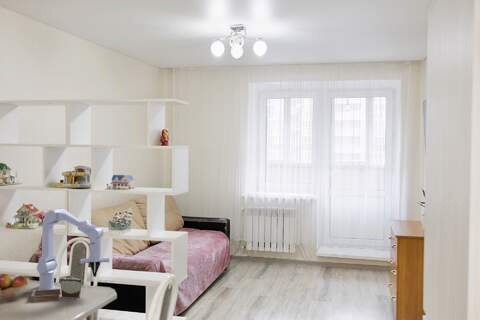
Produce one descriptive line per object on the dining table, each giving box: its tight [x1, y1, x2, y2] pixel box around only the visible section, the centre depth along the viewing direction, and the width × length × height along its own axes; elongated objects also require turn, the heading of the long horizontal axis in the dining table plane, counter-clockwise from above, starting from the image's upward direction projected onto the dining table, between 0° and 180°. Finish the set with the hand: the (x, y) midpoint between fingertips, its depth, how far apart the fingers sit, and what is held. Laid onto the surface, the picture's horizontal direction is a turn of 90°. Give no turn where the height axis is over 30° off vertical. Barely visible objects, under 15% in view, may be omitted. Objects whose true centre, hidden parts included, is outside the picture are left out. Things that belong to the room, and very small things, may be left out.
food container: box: [58, 275, 84, 299], centre depth 245 cm, size 12×6×10 cm, turn 84°
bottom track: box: [30, 288, 61, 303], centre depth 241 cm, size 11×13×3 cm
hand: (94, 276), depth 248 cm, fingers closed
